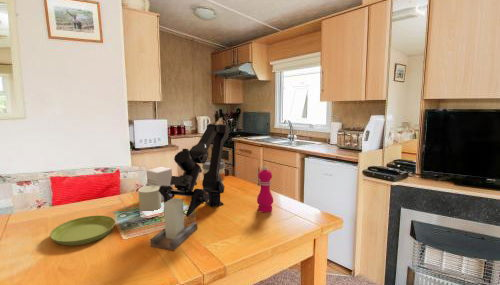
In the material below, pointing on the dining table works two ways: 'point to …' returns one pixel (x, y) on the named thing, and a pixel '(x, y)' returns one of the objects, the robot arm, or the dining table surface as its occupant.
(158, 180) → the supplement box
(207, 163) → the reusable coffee cup
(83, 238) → the saucer
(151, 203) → the can
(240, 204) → the dining table surface
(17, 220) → the dining table surface
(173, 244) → the floor track
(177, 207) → the white rectangular block
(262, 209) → the pepper mill
